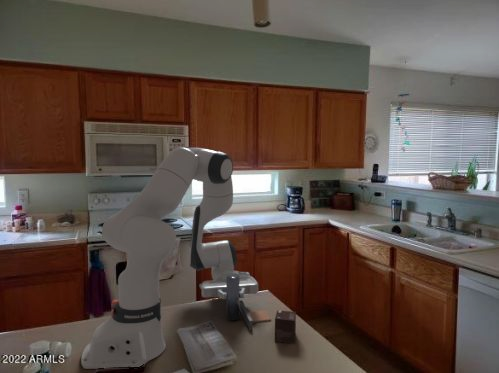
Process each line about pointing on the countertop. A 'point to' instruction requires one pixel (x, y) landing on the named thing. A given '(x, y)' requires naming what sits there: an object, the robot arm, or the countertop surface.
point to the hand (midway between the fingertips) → (233, 296)
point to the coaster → (259, 316)
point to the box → (285, 326)
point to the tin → (232, 297)
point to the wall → (246, 315)
